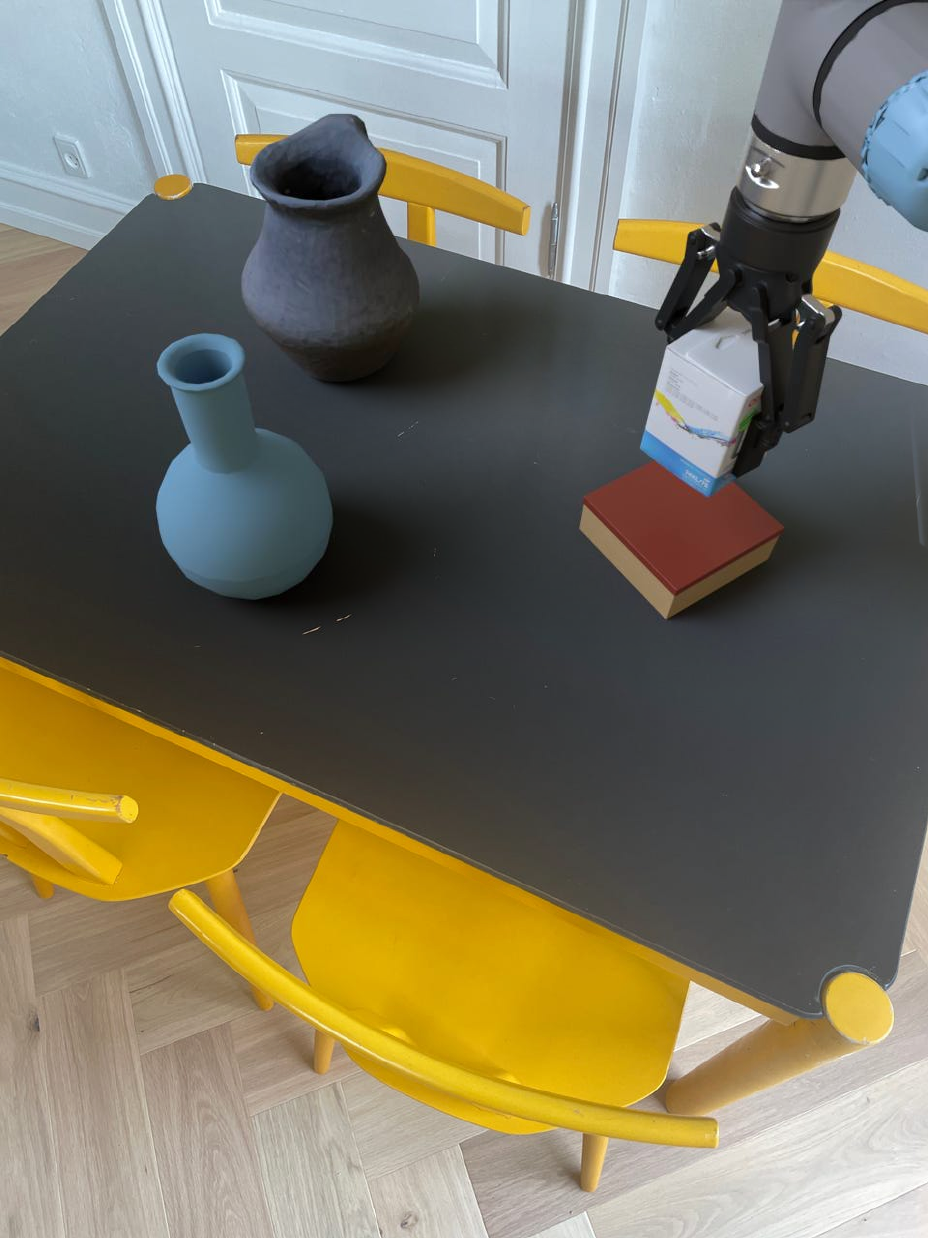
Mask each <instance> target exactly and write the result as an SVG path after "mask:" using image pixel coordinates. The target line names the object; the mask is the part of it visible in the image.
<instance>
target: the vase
mask: <svg viewBox="0 0 928 1238" xmlns="http://www.w3.org/2000/svg"><path fill="white" fill-rule="evenodd" d="M245 363H246V354H245V350H244V347H243V346H242V345H241V344H240V343H239V342H238V340H236V339H234V338H232V337H229V336H226V335H223V334H218V333H206V332H205V333H197V334H192V335H187V336H185V337H183V338H181V339H179V340H175V341H174V342H172V343H171V344H170V345H168V346H167V347H166V348H165V349H164V350H163V351H162V352H161V354H160V356H159V358H158V359H157V363H156V368H157V374H158V376H159V377H160V378H161V379H162V380H163V382H164V383H165V384H166V385H167V386H169V387H170V389H171V393H172V396H173V398H174V402H175V404H176V408H177V410H178V413H179V415H180V418H181V422H182V423H183V426H184V429H185V432H186V434H187V437H188V439H189V441H190V443H189V444H187V445H186V446H185V447H184V448H183V450H181V451H180V452H179V454H177V455H176V456H175V458H174V459H172V461H171V463H170V465H169V467H168V469H167V471H166V474H165V476H164V478H163V480H162V483H161V484H160V486H159V490H158V492H157V497H156V505H155V510H156V517H157V523H158V529H159V530H158V531H159V535H160V537H161V541H162V544H163V546H164V547H165V550H166V551H167V552H168V554H169V556H170V557H171V558H172V560H173V561H174V562H175V564H176V565H177V567H178V568H179V570H181V572H182V573H183V574H184V576H185V577H186V578H187V579H188V580H190V581H192V582H193V583H194V584H196V585H198V586H201V587H202V588H205V589H207V590H208V591H211V592H213V593H215V594H218V595H220V596H223V597H227V598H234V599H243V600H252V601H256V600H260V599H265V598H269V597H274V596H278V595H280V594H282V593H284V592H286V591H288V590H290V589H291V588H293V587H295V586H296V585H298V584H300V583H302V582H303V581H304V580H305V579H306V578H307V577H308V575H309V574H310V573H311V572H312V571H313V569H314V568H315V567H316V566H317V564H318V563H319V562H320V560H321V559H322V558H323V556H324V554H325V552H326V550H327V547H328V543H329V540H330V537H331V536H330V535H331V531H332V528H333V524H334V519H333V516H334V515H333V514H334V513H333V506H332V502H331V498H330V494H329V490H328V485H327V482H326V479H325V475H324V472H322V470H321V469H320V468H319V466H317V464H316V463H315V462H314V460H313V459H312V458H311V457H310V456H309V455H308V454H307V452H306V451H305V450H304V449H303V448H302V446H301V445H300V444H299V443H297V442H296V441H294V440H292V439H291V438H289V437H286V436H284V435H281V434H278V433H276V432H273V431H271V430H268V429H265V428H259V427H256V426H255V420H254V415H253V410H252V406H251V401H250V398H249V393H248V387H247V385H246V380H245V376H244V374H243V368H244V365H245Z"/></svg>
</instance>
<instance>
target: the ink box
mask: <svg viewBox="0 0 928 1238" xmlns="http://www.w3.org/2000/svg"><path fill="white" fill-rule="evenodd" d="M793 348H794V344H793ZM763 388H764V385H763V384H762V383H761V382H760V376H759V359H758V344H757V342H755V341H753V338H752V325H751V323H749V322H748V321H747V320H746V319H745V318H744V316H743V315H742V314H741V313H739V312H737V311H734V310H732V309H731V308H729V307H727V308H726V309H725V310H724V311H723V312H722V313H721V314H719V315H718V316H717V317H716V318H715V319H714V320H712V321H710V322H708V323H706V324H704V325H701V326H699V327H697V328H695V329H693V330H692V331H690V332H688V333H687V334H685V335H684V336H682V337H680V338H679V339H678V340H676V341H674V342H673V343H671V344H670V345H666V348H665V350H664V354H663V359H662V362H661V367H660V370H659V374H658V378H657V380H656V386H655V389H654V393H653V397H652V401H651V404H650V407H649V412H648V415H647V420H646V423H645V428H644V431H643V434H642V439H641V441H640V446H639V449H640V451H642V452H643V453H645V454H646V455H647V456H648V457H650V458H651V459H653V460H655V461H657V462H658V463H659V464H661V465H662V466H663V467H665V468H666V469H667V470H669V471H670V472H672V473H673V474H674V475H676V476H677V477H679V478H680V479H681V480H683V481H684V482H686V483H687V484H688V485H690V486H691V487H693V488H694V489H696V490H697V491H699V492H700V493H702V494H703V495H704V496H706V497H707V498H710V497H711V496H712V495H714V494H715V493H716V492H718V491H719V490H720V489H722V488H723V487H724V486H726V485H727V484H728V483H730V482H731V481H733V482H734V480H735V479H737V478H736V477H735V476H734V475H733V474H731V472H732V470H733V467H734V464H735V462H736V459H737V456H738V454H739V451H740V448H741V446H742V443H743V440H744V438H745V435H746V433H747V430H748V427H749V425H750V422H751V419H752V417H753V416H755V415H757V414H759V413H761V412H762V409H761V393H762V391H763ZM767 453H768V451H767V452H765V454H764V457H763V459H764V458H765V457H766V455H767Z"/></svg>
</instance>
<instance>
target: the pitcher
mask: <svg viewBox="0 0 928 1238" xmlns="http://www.w3.org/2000/svg"><path fill="white" fill-rule="evenodd" d="M368 134H369V133H368V130H367V127H366V123H365V121H364V120H363V119H361V118H360V117H359V116H358V115H356V114H352V113H329V114H326V115H324V116H322V117H320V118H319V119H317V120H316V121H314V122H312V123H310V124H308V125H307V126H305V127H304V128H302V129H300V130H298V131H296V132H294V133H292V134H290V135H288V136H286V137H284V138H282V139H279V140H277V141H274V142H272V143H269V144H267V145H265V146H264V147H263V148H261V149H260V150H259V151H258V152H257V153H256V155H255V157H254V158H253V160H252V162H251V164H250V167H249V170H248V172H249V179H250V182H251V184H252V186H253V187H254V189H256V191H257V192H258V194H259V196H261V197H262V198H263V200H265V201H266V206H265V209H264V212H263V213H264V215H263V222H262V229H261V231H260V235H259V238H258V240H257V241H256V243H255V244H254V246H253V248H252V250H251V252H250V253H249V255H248V258H247V259H246V260H245V261H246V262H245V264H244V266H243V270H242V272H241V273H242V274H241V282H240V287H241V297H242V300H243V303H244V307H245V308H246V311H247V313H248V315H249V316H250V318H251V320H252V321H253V323H254V324H255V326H257V328H258V329H259V330H260V331H261V332H262V333H263V334H265V335H266V336H267V337H268V338H269V339H270V340H271V341H272V342H273V343H274V344H275V346H276V347H278V349H280V350H281V352H282V353H283V354H284V355H286V357H288V358H289V360H290V361H292V362H293V363H294V364H296V365H297V366H298V368H300V369H301V370H302V371H303V372H304V373H306V374H307V375H308V376H309V377H311V378H313V379H314V380H315V379H316V380H318V381H322V382H329V383H337V382H338V383H339V382H352V381H356V380H359V379H361V378H364V377H367V376H369V375H371V374H374V373H375V372H377V371H379V370H381V369H382V368H383V367H384V366H385V365H387V363H388V362H389V361H390V360H391V359H392V357H393V355H394V354H395V352H396V350H397V348H398V347H399V345H400V344H401V342H402V341H403V339H404V338H405V337H406V335H407V333H408V331H409V330H410V328H411V326H412V323H413V322H414V320H415V318H416V314H417V311H418V310H419V309H418V308H419V304H420V300H421V299H420V283H419V278H418V274H417V272H416V269H415V268H414V265H413V263H412V261H411V259H410V257H409V256H408V254H407V253H406V252H405V251H404V250H403V249H402V248H401V246H400V245H399V243H398V240H397V238H396V237H395V234H394V233H393V231H392V229H391V227H390V225H389V224H388V221H387V219H386V216H385V214H384V211H383V209H382V206H381V203H380V198H379V194H378V193H379V192H380V189H381V187H382V186H383V185H382V184H383V183H384V182H385V178H386V174H387V169H388V163H387V161H386V157H385V155H384V154H383V153H382V151H381V150H379V149H377V148H376V146H375V145H374V144H373V142H372V141H371V140H370V137H369V135H368Z"/></svg>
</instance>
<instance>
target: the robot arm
mask: <svg viewBox="0 0 928 1238" xmlns="http://www.w3.org/2000/svg"><path fill="white" fill-rule="evenodd" d="M765 62H766V63H765V66H764V70H763V73H762V78H761V80H760V86H759V88H758V92H757V96H756V101H755V105H754V109H753V114H752V118H751V121H750V125H749V128H748V132H747V136H746V139H745V143H744V146H743V149H742V153H741V157H740V161H739V164H738V167H737V170H736V175H735V181H734V182H735V186H734V187H733V188H732V190H731V191H730V196H729V199H728V202H727V206H726V209H725V213H724V217H723V220H722V224H721V225H720V223H718V222H716V221H714V222H711V223H709V224H706V225H703V226H701V227H698V228H696V229H694V230H692V231H689V232H688V234H687V235H686V242H685V243H686V244H685V250H684V256H683V259H682V262H681V264H680V266H679V268H678V270H677V272H676V274H675V276H674V278H673V281H672V283H671V285H670V287H669V289H668V291H667V293H666V296H665V298H664V299H663V301H662V305H661V306H660V308H659V310H658V313H656V316H655V319H654V325H655V327H656V329H657V330H658V331H664V332H665V334H666V335H667V336H666V337H667V338H666V342H667V344H668V345H670V344H671V343H673V342H674V341H676V340H678V339H679V338H680V337H682V336H684V335H685V334H687V333H688V332H690V331H692V330H693V329H695V328H697V327H699V326H701V325H704V324H706V323H708V322H710V321H712V320H714V319H715V318H716V317H717V316H718V315H719V314H721V313H722V312H723V311H724V310H725V309H726V308H728V307H729V308H731V309H732V310H734V311H737V312H738V313H740V314H742V315H743V316H744V318H745V319H746V320H747V321H748V322H749V323H751V325H752V338H753V341H755V342H757V344H758V359H759V376H760V382H761V383H762V384H763V385H764V388H763V391H762V393H761V409H762V412H761V413H759V414H757V415H755V416H753V417H752V419H751V422H750V425H749V427H748V430H747V433H746V435H745V438H744V440H743V443H742V446H741V448H740V451H739V454H738V456H737V459H736V462H735V464H734V467H733V470H732V472H731V474H733V475H734V476H735V477H736V478H735V479H739V478H740V477H743V476H744V475H746V474H748V473H749V472H751V471H754V470H756V469H757V468H759V467H760V466H761V465H762V461H763V459H764V458H765V457H764V454H765V452H767V453H768V452H769V451H771V450H773V449H775V448H776V447H777V446H778V445H779V443H780V440H781V438H782V436H783V433H785V434H791V433H793V432H795V431H797V430H799V429H801V428H803V427H805V426H807V425H808V424H810V423H812V422H814V420H815V418H816V412H817V407H818V403H819V397H820V392H821V387H822V383H823V377H824V372H825V367H826V362H827V358H828V352H829V347H830V342H831V337H832V335H833V333H834V331H835V330H836V328H837V327H838V325H839V324H840V321H841V320H842V317H843V310H842V308H841V307H840V305H838V304H833V305H830V306H828V307H826V306H825V305H824V304H823V303H822V302H820V301H819V300H818V299H817V298H816V297H815V296H814V295H813V292H814V285H813V284H814V283H813V279H814V274H815V272H816V270H817V268H818V266H819V265H820V263H821V262H822V261H823V258H824V256H825V255H826V252H827V250H828V247H829V244H830V242H831V240H832V237H833V234H834V231H835V229H836V227H837V224H838V222H839V219H840V216H841V213H842V212H841V207H842V206H843V205H844V204H845V203H846V202H847V199H848V197H849V195H850V191H851V189H852V186H853V183H854V180H855V179H856V176H857V174H858V173H859V174H860V175H861V176H862V177H863V179H864V180H865V181H866V182H867V186H868V188H869V190H870V191H872V193H873V194H874V195H875V197H876V198H877V199H878V200H882V202H883V203H884V204H885V205H886V206H887V207H892V208H893V209H894V210H895V211H896V212H897V213H898V214H900V216H902V218H904V220H906V221H907V223H909V224H910V225H911V226H912V227H914V228H915V229H918V230H920V231H922V232H924V233H928V0H781V4H780V8H779V11H778V16H777V20H776V23H775V27H774V31H773V35H772V39H771V43H770V47H769V50H768V55H767V57H766V61H765ZM715 261H716V264H717V271H718V275H719V277H718V280H716V281H715V282H714V284H713V285H712V286H711V287H710V288H709V289H708V290H707V291H705V293H704V295H703V298H702V299H701V300H700V301H699V302H698V303H697V304H696V306H695V307H693V308H692V306H693V304H694V303H695V300H696V298H697V296H698V293H699V292H700V291H701V288H702V286H703V285H704V282H705V281H706V278H707V277H708V275H709V273H710V271H711V269H712V267H713V265H714V263H715ZM691 308H692V310H691ZM690 310H691V311H690ZM797 313H798V314H799V320H797V318H798V317H797ZM775 321H776V322H775ZM795 331H796V332H797V335H796V338H795V339H794V340H793V334H794V332H795ZM793 341H794V342H793ZM668 345H667V346H668ZM793 345H794V348H793ZM763 457H764V458H763Z"/></svg>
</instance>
